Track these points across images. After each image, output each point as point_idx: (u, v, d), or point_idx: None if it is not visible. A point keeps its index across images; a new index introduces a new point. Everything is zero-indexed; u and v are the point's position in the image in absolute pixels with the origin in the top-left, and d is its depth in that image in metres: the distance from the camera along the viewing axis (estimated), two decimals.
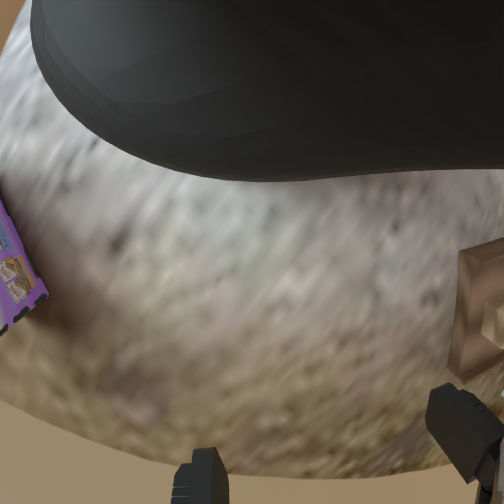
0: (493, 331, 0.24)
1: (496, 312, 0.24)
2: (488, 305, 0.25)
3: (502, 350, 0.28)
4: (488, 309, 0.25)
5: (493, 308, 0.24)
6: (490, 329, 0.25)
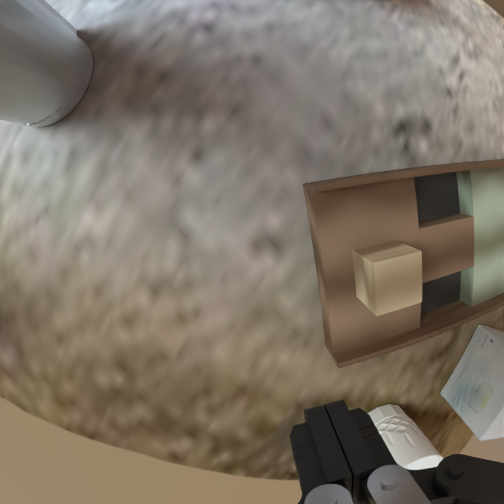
0: (365, 291, 0.22)
1: (362, 261, 0.22)
2: (355, 253, 0.23)
3: (412, 328, 0.26)
4: (356, 260, 0.23)
5: (359, 256, 0.22)
6: (362, 288, 0.23)
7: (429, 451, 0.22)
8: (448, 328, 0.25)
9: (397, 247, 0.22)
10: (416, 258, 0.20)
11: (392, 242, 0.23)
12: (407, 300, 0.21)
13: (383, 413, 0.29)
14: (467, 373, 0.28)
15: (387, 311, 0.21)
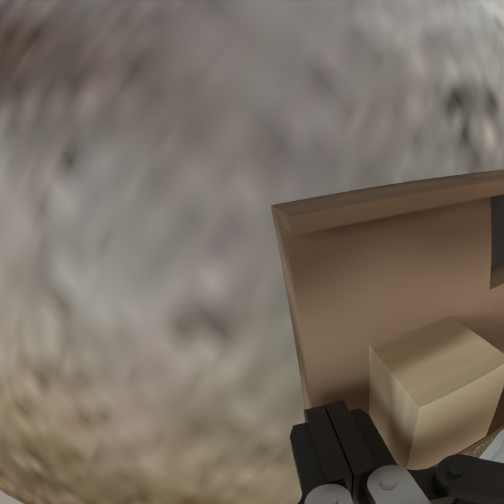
0: (388, 428, 0.09)
1: (391, 383, 0.09)
2: (375, 356, 0.10)
3: None
4: (376, 367, 0.10)
5: (385, 368, 0.10)
6: (382, 419, 0.10)
7: None
8: (500, 429, 0.12)
9: (460, 343, 0.09)
10: (498, 375, 0.07)
11: (447, 324, 0.11)
12: (464, 443, 0.08)
13: None
14: (503, 456, 0.15)
15: (425, 468, 0.08)
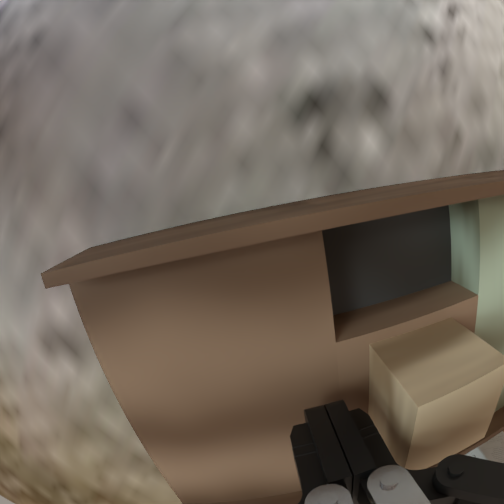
0: (387, 427, 0.10)
1: (391, 382, 0.09)
2: (375, 355, 0.10)
3: None
4: (376, 366, 0.10)
5: (385, 368, 0.10)
6: (382, 418, 0.10)
7: None
8: None
9: (460, 343, 0.09)
10: (498, 376, 0.07)
11: (447, 325, 0.11)
12: (463, 444, 0.08)
13: None
14: None
15: (423, 468, 0.08)
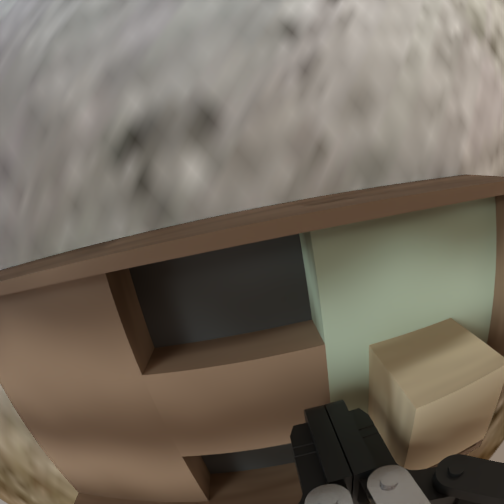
0: (386, 428, 0.10)
1: (389, 383, 0.09)
2: (374, 356, 0.10)
3: (191, 500, 0.13)
4: (375, 367, 0.10)
5: (384, 369, 0.10)
6: (381, 419, 0.10)
7: None
8: None
9: (460, 345, 0.09)
10: (497, 377, 0.07)
11: (447, 325, 0.11)
12: (462, 445, 0.08)
13: None
14: None
15: None
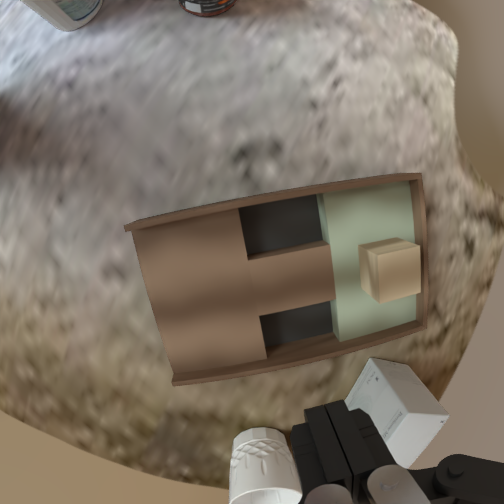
0: (369, 282, 0.25)
1: (367, 254, 0.24)
2: (360, 248, 0.25)
3: (256, 358, 0.28)
4: (361, 254, 0.26)
5: (364, 250, 0.25)
6: (366, 279, 0.25)
7: (280, 483, 0.24)
8: (297, 363, 0.26)
9: (398, 243, 0.24)
10: (415, 252, 0.22)
11: (394, 239, 0.26)
12: (407, 290, 0.23)
13: (253, 435, 0.31)
14: (351, 409, 0.30)
15: (389, 299, 0.23)
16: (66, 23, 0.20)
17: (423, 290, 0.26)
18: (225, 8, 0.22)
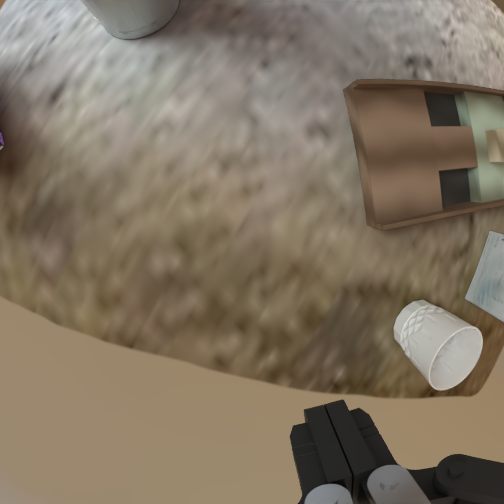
0: (499, 151, 0.27)
1: (495, 132, 0.26)
2: (488, 131, 0.28)
3: (436, 209, 0.30)
4: (489, 135, 0.28)
5: (492, 131, 0.27)
6: (496, 151, 0.27)
7: (470, 325, 0.26)
8: (465, 211, 0.29)
9: None
10: None
11: None
12: None
13: (419, 304, 0.34)
14: (486, 272, 0.33)
15: None
16: None
17: None
18: None
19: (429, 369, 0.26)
